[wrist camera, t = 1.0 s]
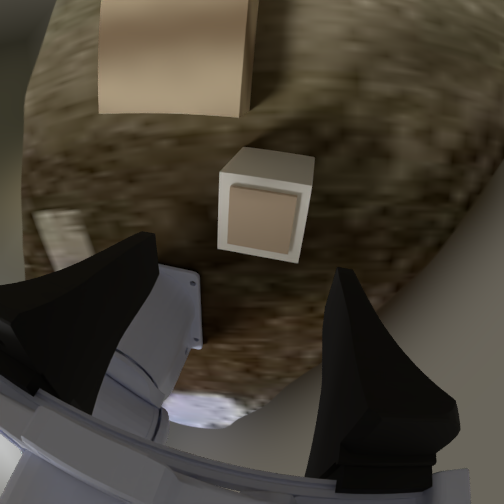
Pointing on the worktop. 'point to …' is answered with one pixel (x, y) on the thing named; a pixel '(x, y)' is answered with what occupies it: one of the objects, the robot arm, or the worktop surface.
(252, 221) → the box
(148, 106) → the maple block
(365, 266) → the worktop surface
